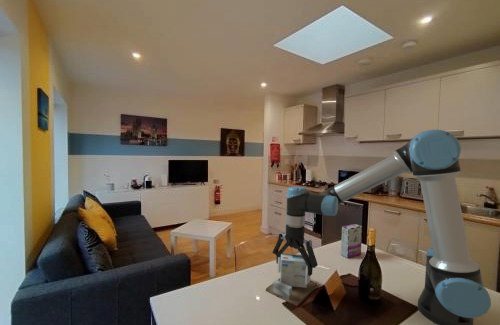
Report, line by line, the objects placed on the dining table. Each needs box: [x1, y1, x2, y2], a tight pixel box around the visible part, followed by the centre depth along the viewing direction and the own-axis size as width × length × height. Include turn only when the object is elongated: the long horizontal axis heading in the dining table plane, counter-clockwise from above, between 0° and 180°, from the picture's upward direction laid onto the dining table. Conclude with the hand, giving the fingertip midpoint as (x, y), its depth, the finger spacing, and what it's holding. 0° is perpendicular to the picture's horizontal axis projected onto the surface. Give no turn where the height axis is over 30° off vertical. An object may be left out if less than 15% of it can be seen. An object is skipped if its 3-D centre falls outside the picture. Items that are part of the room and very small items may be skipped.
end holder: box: [265, 278, 319, 307], centre depth 97 cm, size 14×18×5 cm
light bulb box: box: [279, 252, 307, 288], centre depth 96 cm, size 11×7×11 cm, turn 84°
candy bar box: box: [340, 223, 363, 259], centre depth 131 cm, size 11×5×16 cm, turn 119°
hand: (293, 276), depth 96 cm, fingers closed on light bulb box, 12 cm apart
